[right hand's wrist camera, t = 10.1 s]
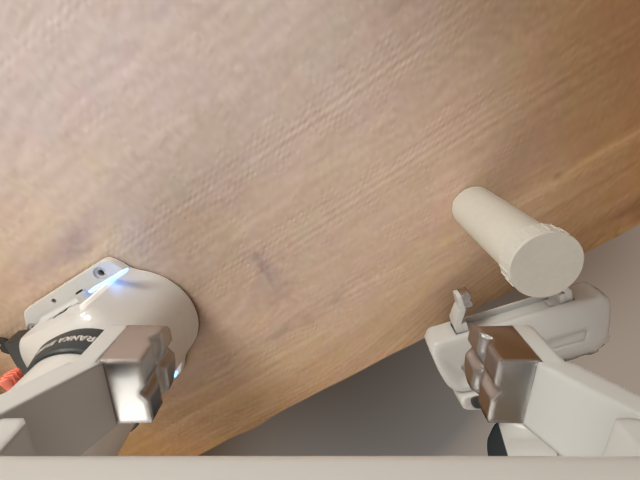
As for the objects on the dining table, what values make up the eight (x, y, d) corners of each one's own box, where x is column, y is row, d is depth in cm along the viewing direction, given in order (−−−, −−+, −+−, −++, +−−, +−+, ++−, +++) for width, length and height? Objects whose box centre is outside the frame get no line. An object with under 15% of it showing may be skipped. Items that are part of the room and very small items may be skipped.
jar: (503, 202, 45) (589, 257, 30) (473, 234, 46) (540, 301, 32) (473, 177, 44) (546, 222, 29) (443, 211, 45) (499, 269, 31)
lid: (584, 249, 32) (600, 259, 30) (530, 297, 34) (543, 310, 32) (536, 208, 31) (550, 217, 29) (483, 262, 32) (493, 273, 31)
